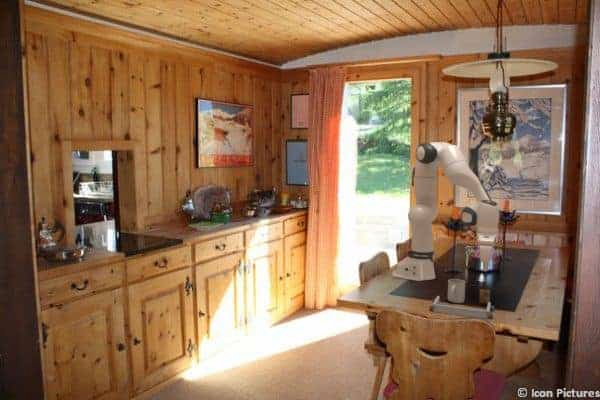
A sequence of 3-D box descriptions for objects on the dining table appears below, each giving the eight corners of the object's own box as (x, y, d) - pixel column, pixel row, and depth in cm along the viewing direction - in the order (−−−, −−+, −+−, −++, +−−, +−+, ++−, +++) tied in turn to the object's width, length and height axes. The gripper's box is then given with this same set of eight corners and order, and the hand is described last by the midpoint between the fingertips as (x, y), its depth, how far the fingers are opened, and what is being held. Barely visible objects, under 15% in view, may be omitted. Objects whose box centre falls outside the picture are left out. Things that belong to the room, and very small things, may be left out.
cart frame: (429, 311, 209) (429, 304, 208) (433, 302, 221) (434, 295, 220) (492, 319, 199) (492, 312, 199) (493, 309, 211) (494, 302, 210)
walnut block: (479, 302, 221) (479, 291, 220) (479, 299, 224) (480, 289, 224) (488, 303, 219) (489, 292, 219) (489, 301, 223) (489, 290, 222)
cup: (466, 300, 224) (467, 280, 223) (459, 305, 216) (460, 285, 215) (450, 297, 228) (451, 278, 227) (443, 302, 220) (443, 283, 219)
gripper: (481, 233, 229) (479, 262, 231) (477, 240, 211) (476, 272, 212) (496, 234, 227) (494, 263, 228) (493, 242, 208) (492, 274, 210)
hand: (485, 268), depth 220 cm, fingers open, 8 cm apart
